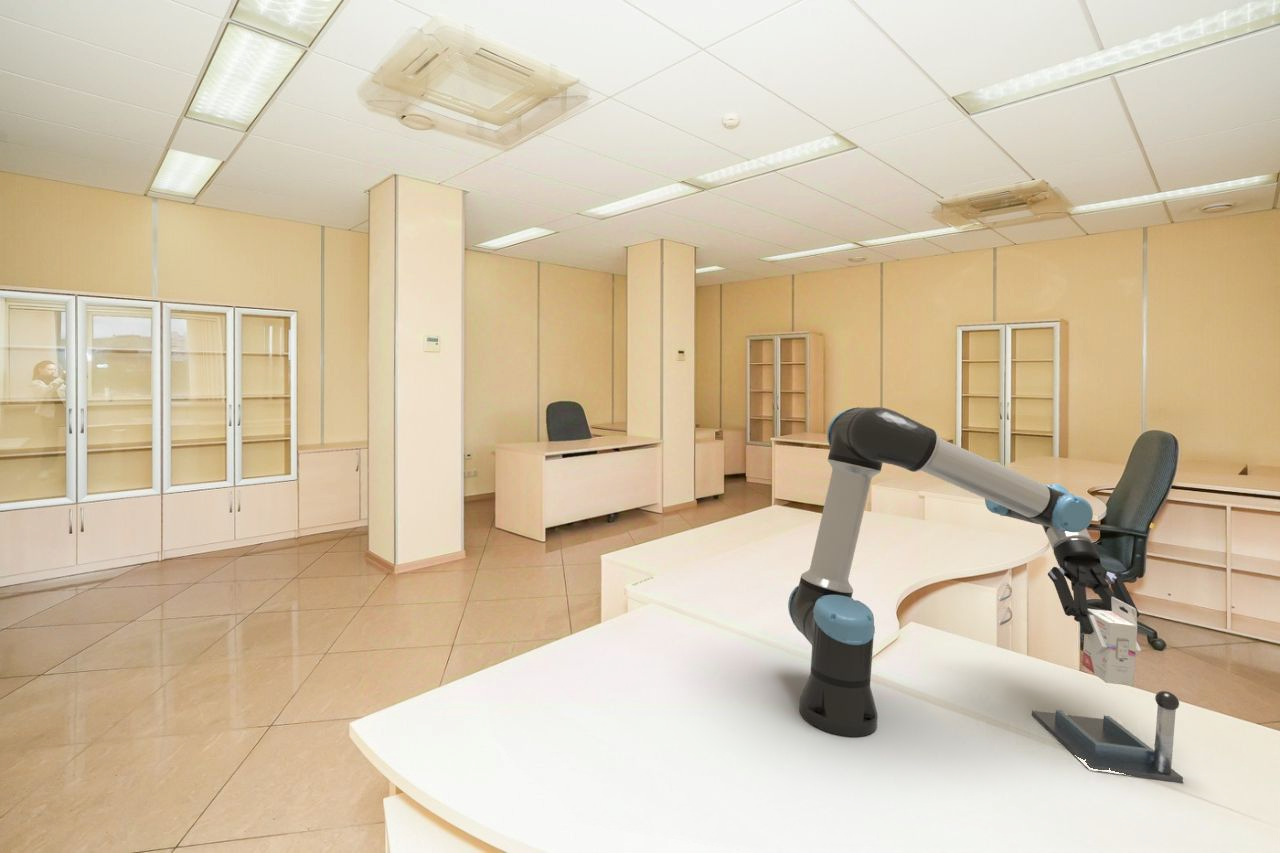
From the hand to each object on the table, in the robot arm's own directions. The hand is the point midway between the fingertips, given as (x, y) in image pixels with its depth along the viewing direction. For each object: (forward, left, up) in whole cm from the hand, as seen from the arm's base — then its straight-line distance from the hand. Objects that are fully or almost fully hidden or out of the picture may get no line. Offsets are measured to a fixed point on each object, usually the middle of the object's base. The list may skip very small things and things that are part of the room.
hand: (1118, 651), depth 110 cm
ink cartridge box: (0, +3, -6) cm, 7 cm away
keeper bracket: (0, +3, -20) cm, 20 cm away
